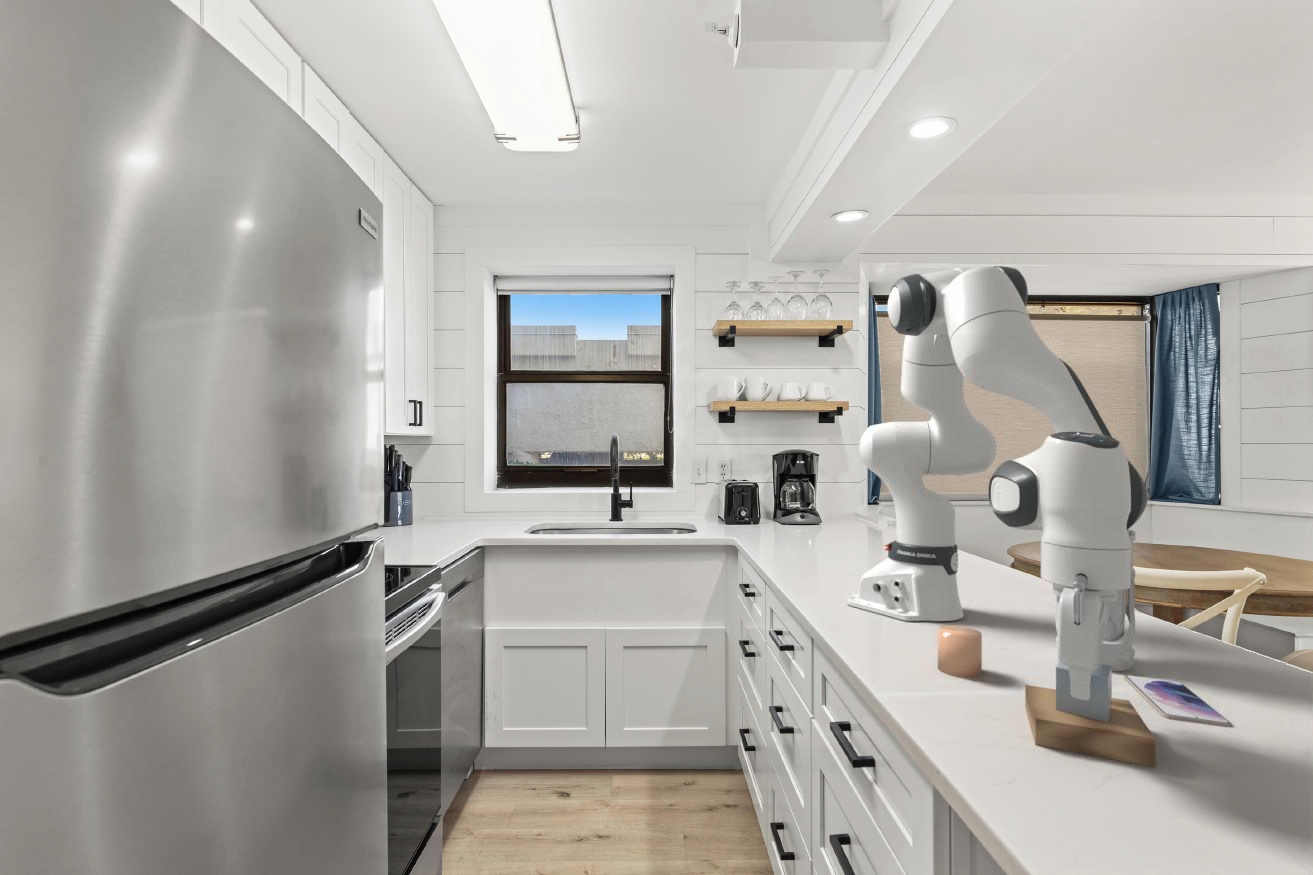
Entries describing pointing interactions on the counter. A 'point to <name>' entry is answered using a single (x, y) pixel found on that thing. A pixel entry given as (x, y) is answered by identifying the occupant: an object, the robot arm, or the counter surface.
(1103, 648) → the lantern
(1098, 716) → the cube
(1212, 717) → the smartphone
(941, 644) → the peach rounded cylinder
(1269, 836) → the counter surface
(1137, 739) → the base slab
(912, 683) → the counter surface
